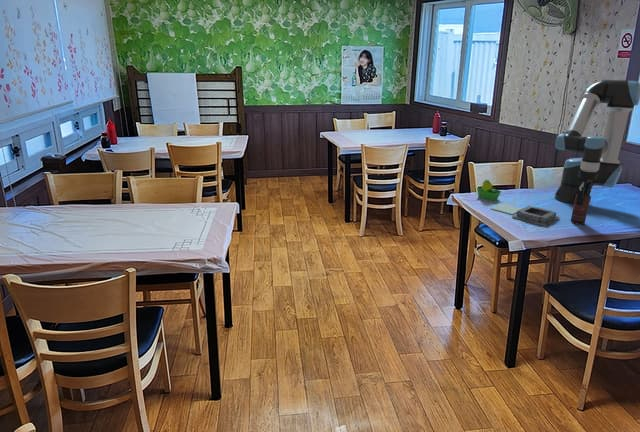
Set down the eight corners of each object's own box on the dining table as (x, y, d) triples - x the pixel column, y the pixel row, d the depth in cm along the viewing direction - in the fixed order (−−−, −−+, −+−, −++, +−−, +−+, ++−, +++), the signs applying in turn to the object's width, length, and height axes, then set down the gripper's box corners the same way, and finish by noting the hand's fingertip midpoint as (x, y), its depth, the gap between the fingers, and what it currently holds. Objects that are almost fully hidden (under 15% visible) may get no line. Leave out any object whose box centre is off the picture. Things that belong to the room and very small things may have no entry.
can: (587, 225, 216) (593, 197, 212) (572, 224, 218) (578, 196, 213) (582, 220, 222) (588, 193, 217) (568, 219, 223) (574, 192, 219)
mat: (501, 204, 245) (502, 203, 245) (523, 210, 237) (523, 208, 237) (490, 209, 238) (490, 208, 238) (512, 214, 229) (512, 213, 229)
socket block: (527, 210, 236) (528, 204, 234) (559, 219, 224) (560, 212, 223) (512, 217, 226) (513, 211, 224) (544, 226, 214) (545, 219, 213)
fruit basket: (500, 199, 254) (503, 180, 250) (490, 202, 249) (493, 182, 245) (483, 194, 263) (486, 175, 259) (473, 197, 258) (476, 178, 254)
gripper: (585, 166, 218) (576, 212, 226) (574, 170, 210) (565, 218, 217) (603, 169, 213) (592, 216, 220) (592, 174, 204) (581, 223, 212)
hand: (578, 217), depth 219 cm, fingers closed
